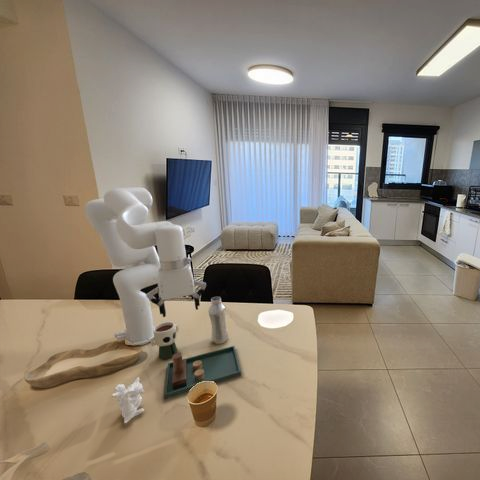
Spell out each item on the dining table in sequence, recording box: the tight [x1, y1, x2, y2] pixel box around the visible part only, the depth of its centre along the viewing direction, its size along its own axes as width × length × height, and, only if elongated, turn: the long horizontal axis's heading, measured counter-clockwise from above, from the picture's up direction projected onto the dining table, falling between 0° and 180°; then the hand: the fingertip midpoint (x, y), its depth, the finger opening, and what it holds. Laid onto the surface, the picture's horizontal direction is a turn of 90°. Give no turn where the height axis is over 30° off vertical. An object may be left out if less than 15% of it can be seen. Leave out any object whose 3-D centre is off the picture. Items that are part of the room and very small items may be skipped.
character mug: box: [150, 321, 180, 361], centre depth 99 cm, size 11×7×13 cm, turn 155°
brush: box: [171, 352, 187, 390], centre depth 89 cm, size 4×10×9 cm, turn 26°
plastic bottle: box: [208, 296, 229, 345], centre depth 107 cm, size 6×7×20 cm
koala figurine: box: [110, 376, 145, 424], centre depth 75 cm, size 8×7×12 cm
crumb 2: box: [194, 369, 204, 380], centre depth 90 cm, size 3×3×2 cm
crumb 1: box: [193, 360, 202, 371], centre depth 94 cm, size 3×3×2 cm
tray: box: [164, 345, 242, 400], centre depth 93 cm, size 23×15×2 cm, turn 116°
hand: (181, 311), depth 87 cm, fingers open, 9 cm apart
